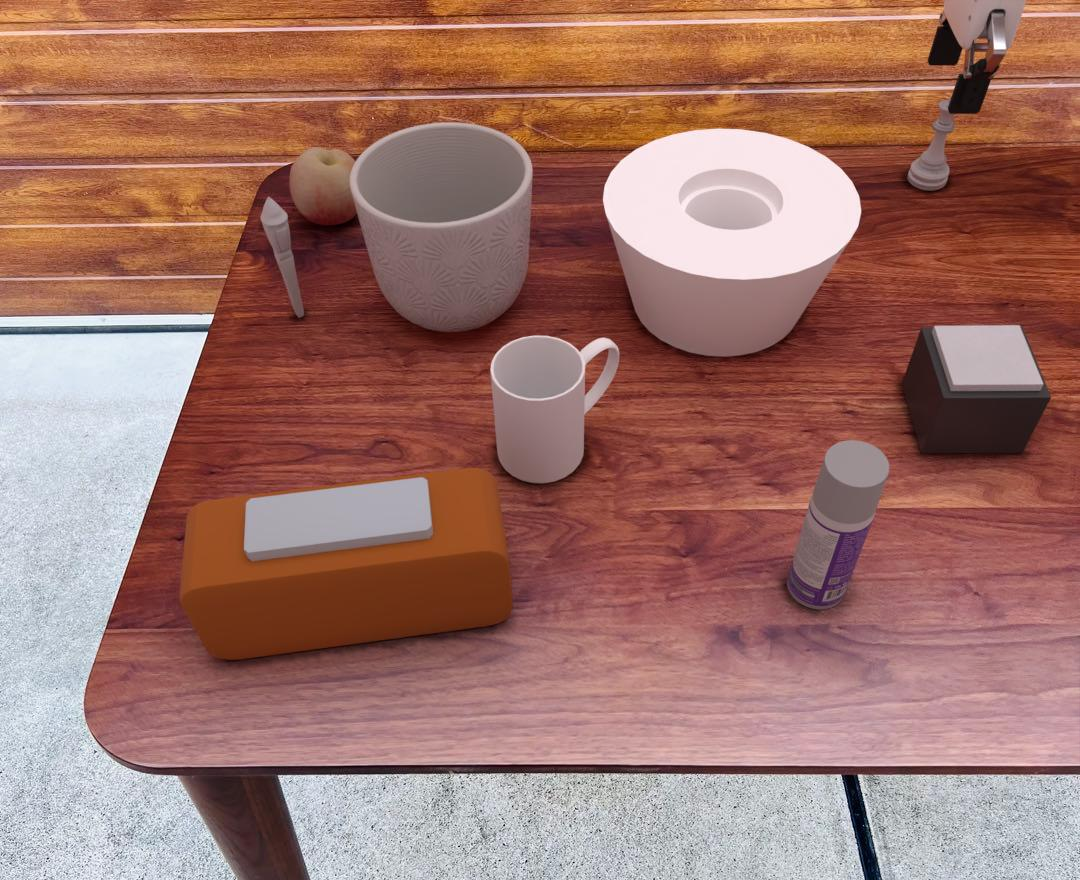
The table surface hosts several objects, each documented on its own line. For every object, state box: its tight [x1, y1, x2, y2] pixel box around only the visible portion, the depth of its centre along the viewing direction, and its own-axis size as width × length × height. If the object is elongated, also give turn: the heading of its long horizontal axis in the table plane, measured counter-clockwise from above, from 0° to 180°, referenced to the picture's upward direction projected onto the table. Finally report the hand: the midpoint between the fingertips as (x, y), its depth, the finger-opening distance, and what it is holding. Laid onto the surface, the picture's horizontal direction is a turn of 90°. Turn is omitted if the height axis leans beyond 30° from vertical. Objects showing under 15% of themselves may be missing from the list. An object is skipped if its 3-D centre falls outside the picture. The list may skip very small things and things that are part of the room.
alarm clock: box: [178, 467, 514, 661], centre depth 78 cm, size 24×8×11 cm, turn 98°
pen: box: [259, 196, 305, 319], centre depth 99 cm, size 2×3×14 cm
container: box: [786, 439, 890, 610], centre depth 76 cm, size 5×5×15 cm
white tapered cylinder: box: [602, 128, 862, 358], centre depth 99 cm, size 24×24×12 cm
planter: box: [349, 121, 534, 333], centre depth 99 cm, size 17×17×15 cm
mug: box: [489, 335, 621, 484], centre depth 88 cm, size 12×8×10 cm, turn 124°
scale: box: [901, 324, 1052, 454], centre depth 90 cm, size 9×9×8 cm
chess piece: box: [906, 96, 956, 192], centre depth 112 cm, size 4×4×10 cm
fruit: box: [288, 146, 357, 226], centre depth 111 cm, size 8×8×8 cm
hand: (952, 87), depth 107 cm, fingers open, 9 cm apart
